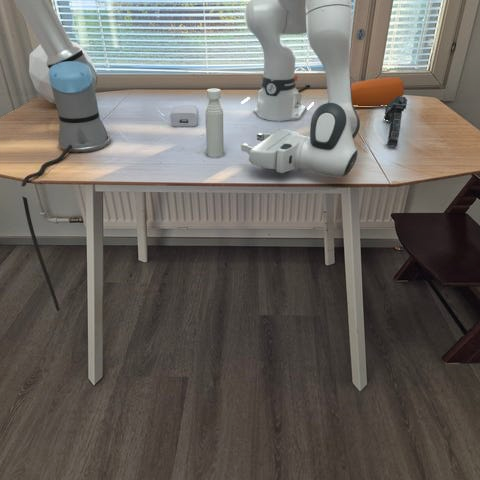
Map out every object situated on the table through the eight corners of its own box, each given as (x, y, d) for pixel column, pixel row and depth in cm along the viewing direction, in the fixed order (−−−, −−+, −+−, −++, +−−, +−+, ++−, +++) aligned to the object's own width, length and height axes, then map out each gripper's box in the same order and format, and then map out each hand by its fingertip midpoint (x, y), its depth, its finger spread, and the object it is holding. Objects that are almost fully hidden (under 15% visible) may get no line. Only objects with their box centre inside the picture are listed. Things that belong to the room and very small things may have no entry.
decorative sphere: (40, 71, 170) (16, 23, 147) (101, 69, 175) (88, 22, 151) (40, 120, 164) (15, 77, 140) (104, 116, 168) (91, 75, 144)
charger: (199, 113, 156) (197, 126, 144) (175, 113, 156) (171, 126, 143) (198, 100, 153) (196, 113, 141) (174, 100, 153) (170, 113, 141)
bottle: (207, 157, 122) (205, 94, 111) (206, 151, 126) (204, 89, 115) (224, 157, 122) (223, 93, 112) (222, 150, 126) (221, 88, 116)
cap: (207, 99, 112) (207, 92, 111) (206, 95, 116) (206, 88, 114) (221, 99, 113) (221, 91, 112) (220, 95, 116) (219, 88, 115)
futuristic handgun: (389, 146, 153) (397, 104, 149) (399, 145, 125) (409, 94, 122) (379, 144, 154) (386, 103, 150) (386, 144, 126) (395, 93, 122)
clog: (345, 115, 162) (406, 107, 163) (347, 87, 156) (410, 79, 157) (336, 106, 172) (394, 98, 173) (337, 80, 166) (397, 72, 167)
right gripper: (310, 128, 116) (266, 120, 121) (280, 152, 101) (232, 142, 107) (308, 149, 119) (265, 140, 125) (278, 175, 105) (232, 164, 110)
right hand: (250, 141), depth 116 cm, fingers open, 8 cm apart
